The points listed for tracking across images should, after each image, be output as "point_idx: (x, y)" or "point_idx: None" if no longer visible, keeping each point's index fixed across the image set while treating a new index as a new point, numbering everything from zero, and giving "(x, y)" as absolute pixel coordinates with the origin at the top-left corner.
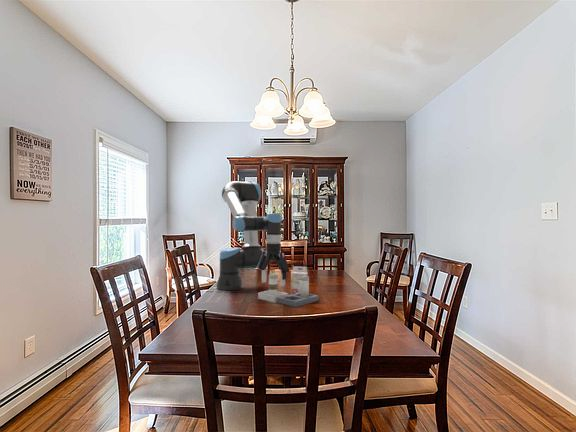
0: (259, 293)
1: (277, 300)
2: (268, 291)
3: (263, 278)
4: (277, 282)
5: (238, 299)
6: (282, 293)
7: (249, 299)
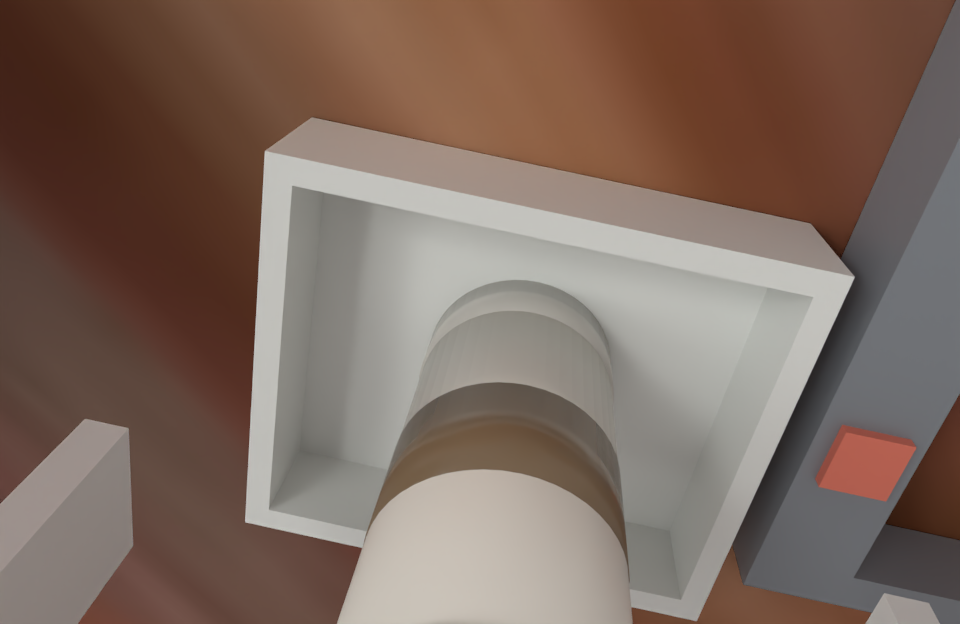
0: (289, 525)
1: (733, 544)
2: (289, 280)
3: (60, 614)
4: (628, 597)
5: (104, 594)
6: (672, 256)
7: (218, 535)
